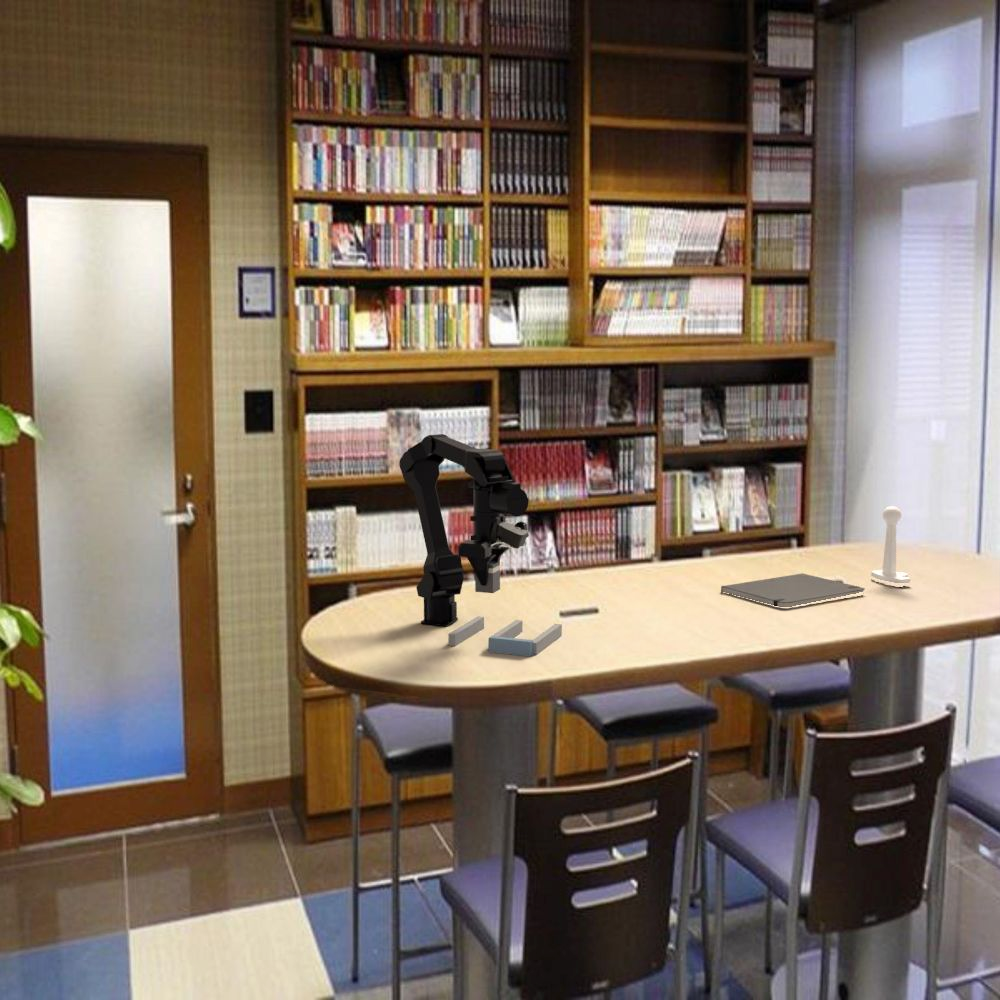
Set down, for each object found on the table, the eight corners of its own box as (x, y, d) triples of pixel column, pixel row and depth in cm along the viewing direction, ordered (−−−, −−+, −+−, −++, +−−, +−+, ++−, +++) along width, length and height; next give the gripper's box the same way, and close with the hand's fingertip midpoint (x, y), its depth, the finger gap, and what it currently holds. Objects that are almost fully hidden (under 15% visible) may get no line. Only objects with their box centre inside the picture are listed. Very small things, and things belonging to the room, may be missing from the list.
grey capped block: (475, 591, 257) (474, 563, 256) (482, 587, 261) (482, 560, 260) (493, 593, 255) (493, 565, 254) (500, 589, 259) (500, 561, 258)
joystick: (867, 579, 316) (870, 503, 313) (890, 577, 319) (893, 501, 316) (896, 588, 306) (900, 510, 303) (920, 585, 309) (924, 508, 306)
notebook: (802, 581, 317) (720, 594, 302) (802, 572, 317) (720, 585, 302) (867, 597, 299) (783, 612, 284) (867, 588, 299) (784, 602, 284)
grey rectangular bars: (445, 647, 253) (445, 633, 252) (477, 627, 269) (477, 614, 268) (533, 656, 246) (534, 642, 245) (561, 635, 262) (561, 622, 261)
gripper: (507, 519, 244) (507, 595, 246) (538, 506, 261) (538, 577, 263) (455, 516, 248) (456, 591, 250) (490, 503, 265) (490, 573, 267)
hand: (487, 583), depth 258 cm, fingers closed on grey capped block, 4 cm apart
